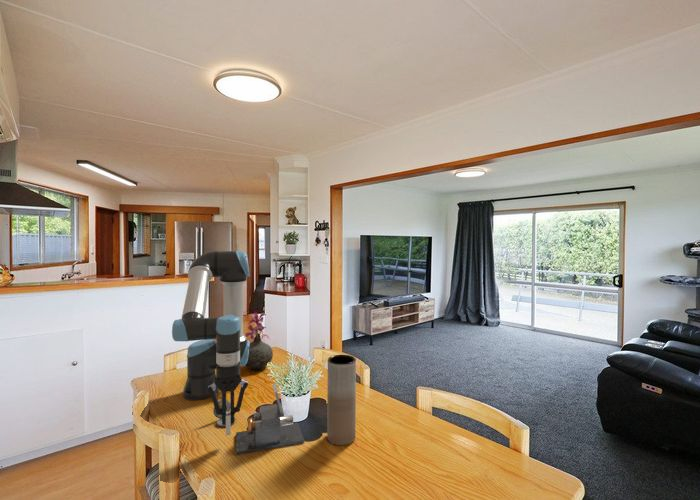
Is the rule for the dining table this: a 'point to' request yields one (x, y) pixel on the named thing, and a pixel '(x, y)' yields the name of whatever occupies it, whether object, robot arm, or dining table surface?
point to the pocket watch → (219, 422)
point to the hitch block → (268, 433)
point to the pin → (251, 424)
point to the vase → (258, 346)
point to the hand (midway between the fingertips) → (228, 433)
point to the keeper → (278, 401)
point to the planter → (341, 399)
